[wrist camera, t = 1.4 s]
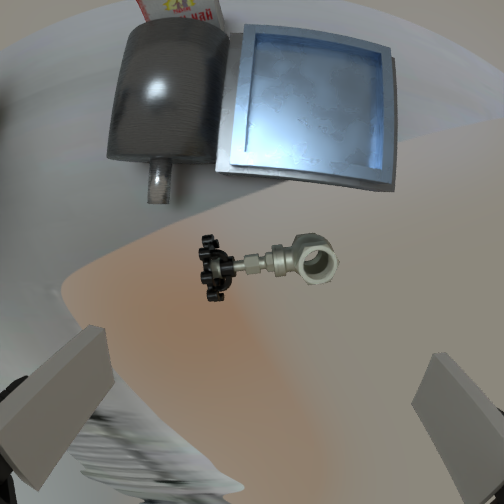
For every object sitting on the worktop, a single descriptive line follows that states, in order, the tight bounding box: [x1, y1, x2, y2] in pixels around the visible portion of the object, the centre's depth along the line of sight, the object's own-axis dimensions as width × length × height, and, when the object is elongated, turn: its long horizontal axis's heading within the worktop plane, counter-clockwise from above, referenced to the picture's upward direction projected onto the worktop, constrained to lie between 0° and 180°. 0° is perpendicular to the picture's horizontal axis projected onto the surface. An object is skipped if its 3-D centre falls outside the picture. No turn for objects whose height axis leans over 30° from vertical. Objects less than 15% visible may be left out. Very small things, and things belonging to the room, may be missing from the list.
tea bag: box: [136, 0, 225, 33], centre depth 20 cm, size 4×7×10 cm, turn 94°
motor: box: [107, 17, 398, 204], centre depth 22 cm, size 26×17×10 cm, turn 85°
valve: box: [199, 233, 339, 302], centre depth 26 cm, size 7×7×12 cm
